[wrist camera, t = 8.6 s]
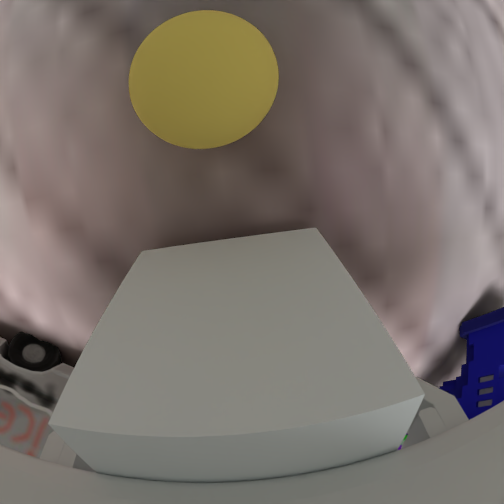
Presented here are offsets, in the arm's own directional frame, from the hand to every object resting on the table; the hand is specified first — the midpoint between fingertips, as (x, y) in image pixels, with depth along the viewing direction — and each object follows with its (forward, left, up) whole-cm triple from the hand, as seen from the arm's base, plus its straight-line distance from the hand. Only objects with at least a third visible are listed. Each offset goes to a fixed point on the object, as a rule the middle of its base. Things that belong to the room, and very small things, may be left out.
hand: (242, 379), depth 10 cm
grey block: (0, 0, -4) cm, 4 cm away
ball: (-10, 0, -3) cm, 10 cm away
